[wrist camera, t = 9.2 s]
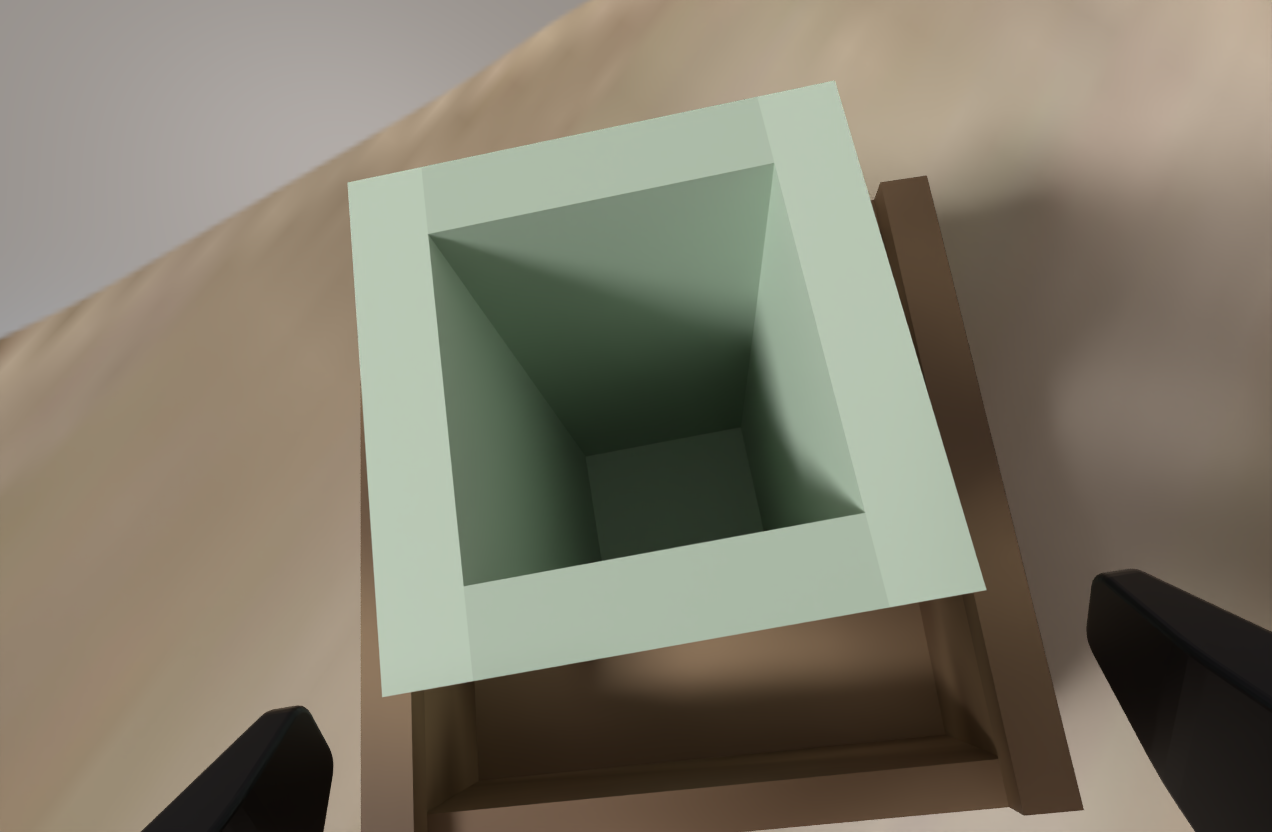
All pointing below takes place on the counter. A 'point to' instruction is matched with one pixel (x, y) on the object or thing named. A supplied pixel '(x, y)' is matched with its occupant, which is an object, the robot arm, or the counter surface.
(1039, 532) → the counter surface
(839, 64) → the counter surface
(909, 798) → the walnut crate
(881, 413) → the sage crate
